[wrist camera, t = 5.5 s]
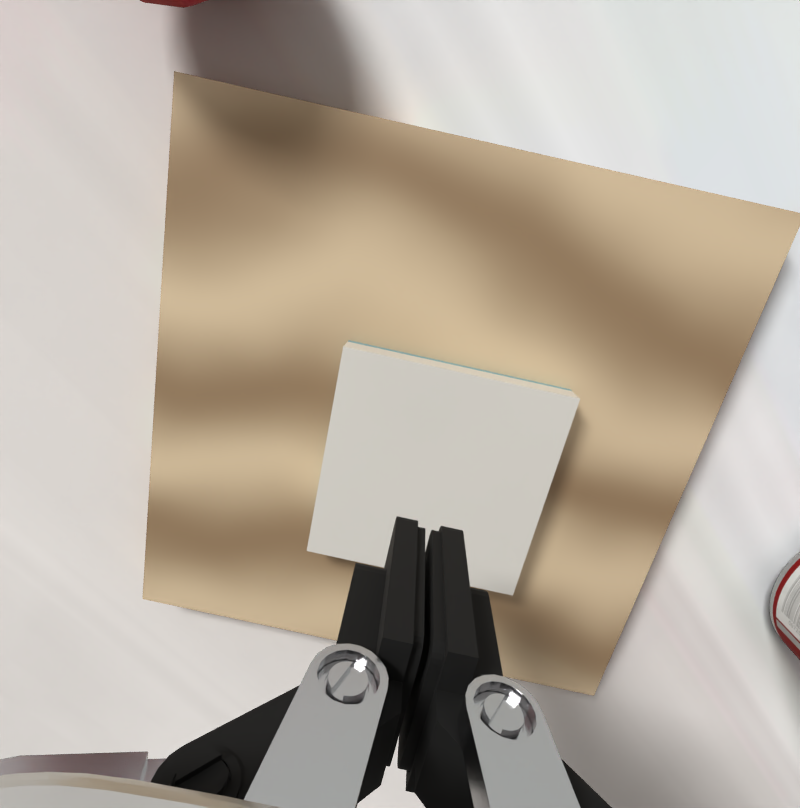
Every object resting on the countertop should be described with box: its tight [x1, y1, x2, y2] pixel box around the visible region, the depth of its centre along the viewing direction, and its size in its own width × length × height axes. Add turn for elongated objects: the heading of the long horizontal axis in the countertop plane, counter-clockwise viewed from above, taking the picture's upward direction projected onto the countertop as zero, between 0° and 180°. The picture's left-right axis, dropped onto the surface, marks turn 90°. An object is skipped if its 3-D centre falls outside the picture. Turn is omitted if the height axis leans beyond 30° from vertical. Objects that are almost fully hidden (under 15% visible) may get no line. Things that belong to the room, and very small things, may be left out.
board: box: [143, 71, 800, 696], centre depth 19 cm, size 20×20×2 cm
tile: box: [307, 340, 580, 596], centre depth 18 cm, size 8×1×8 cm
